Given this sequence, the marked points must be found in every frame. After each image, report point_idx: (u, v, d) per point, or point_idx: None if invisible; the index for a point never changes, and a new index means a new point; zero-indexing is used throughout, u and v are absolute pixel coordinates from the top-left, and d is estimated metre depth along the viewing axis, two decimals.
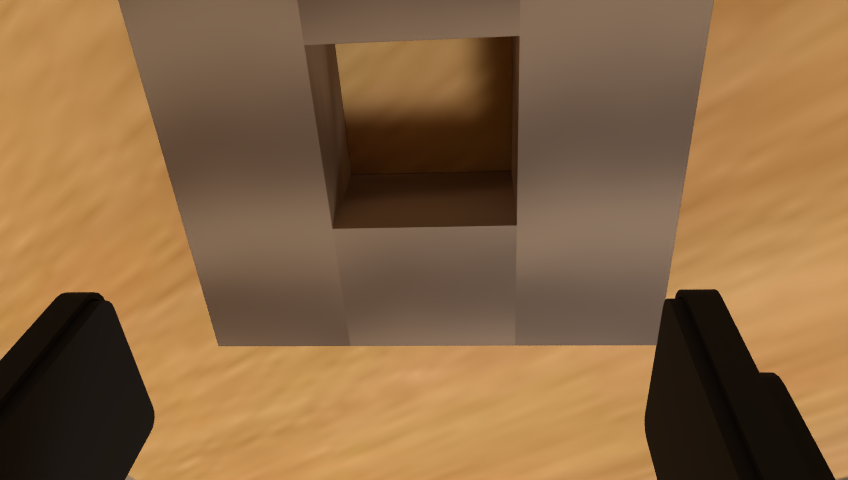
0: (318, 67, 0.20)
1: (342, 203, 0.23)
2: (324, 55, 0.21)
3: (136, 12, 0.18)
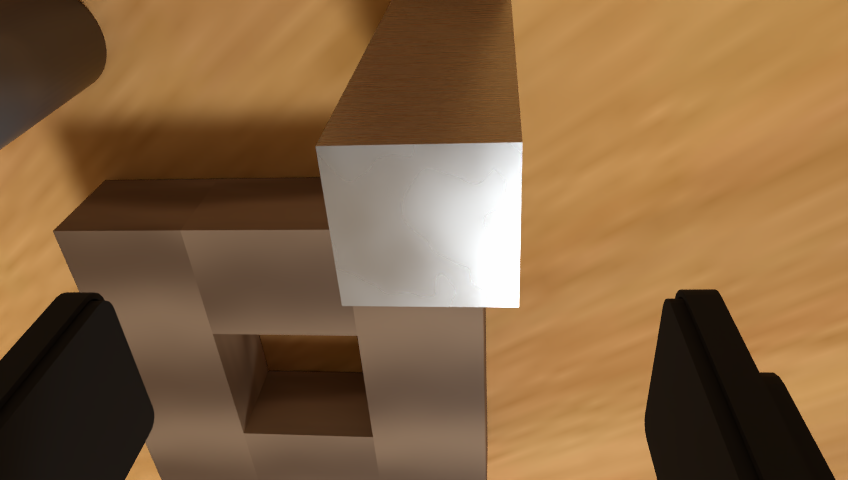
0: None
1: (255, 404, 0.32)
2: None
3: None
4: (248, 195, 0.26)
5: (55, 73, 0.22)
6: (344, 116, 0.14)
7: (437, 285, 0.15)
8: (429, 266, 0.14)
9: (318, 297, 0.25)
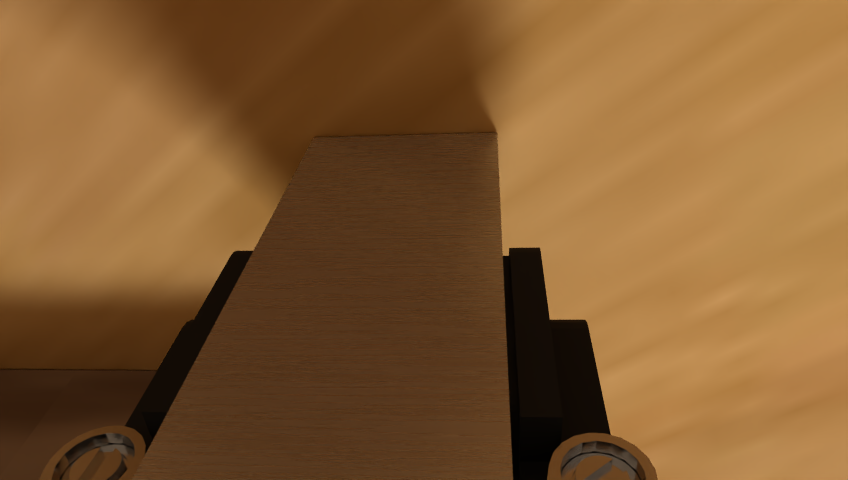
0: None
1: None
2: None
3: None
4: (112, 408, 0.18)
5: None
6: None
7: None
8: None
9: None
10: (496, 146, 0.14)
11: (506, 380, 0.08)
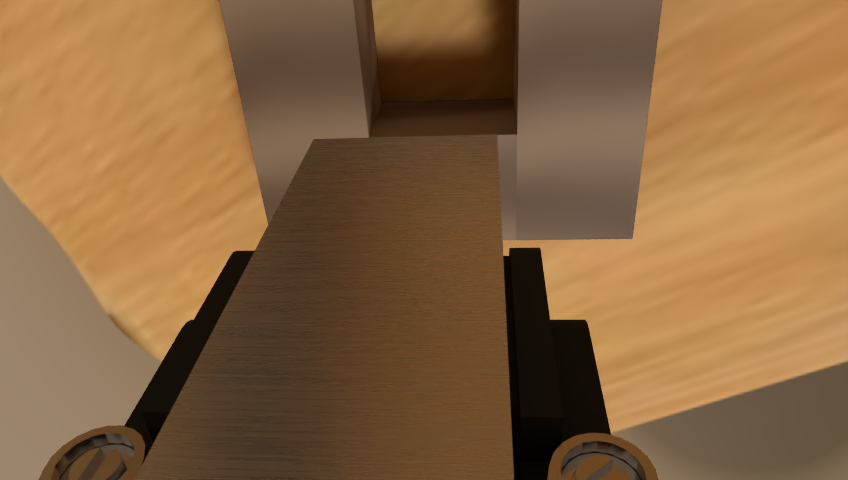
0: (360, 5, 0.25)
1: (375, 122, 0.29)
2: None
3: None
4: None
5: None
6: None
7: None
8: None
9: None
10: (497, 147, 0.14)
11: (507, 384, 0.08)
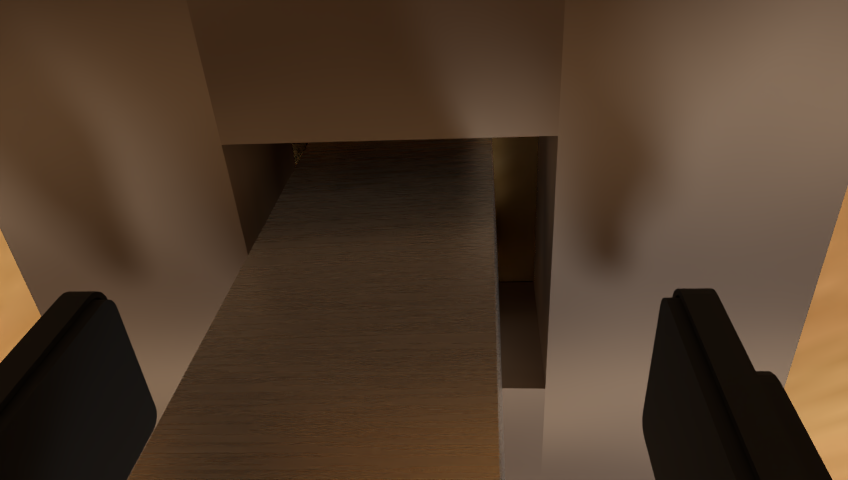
0: (253, 165, 0.14)
1: None
2: None
3: None
4: None
5: None
6: None
7: None
8: None
9: (480, 24, 0.10)
10: None
11: (493, 301, 0.09)
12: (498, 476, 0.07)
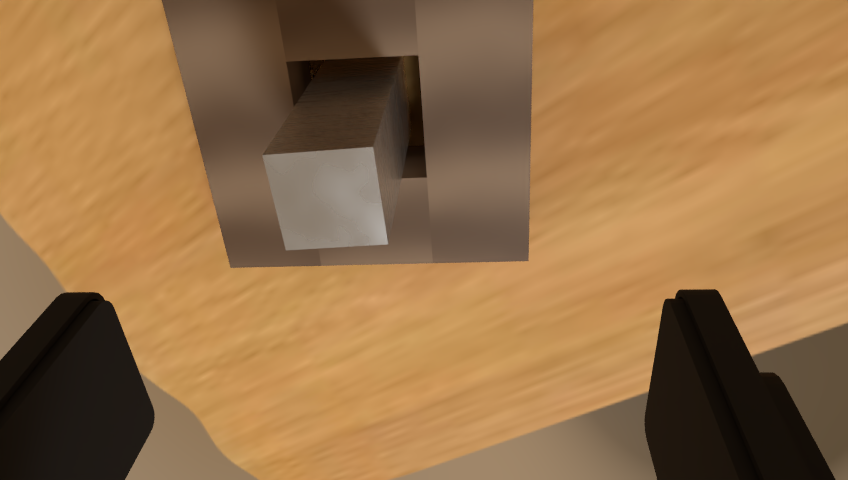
0: (296, 75, 0.31)
1: None
2: (300, 67, 0.32)
3: (182, 42, 0.30)
4: None
5: None
6: (280, 138, 0.25)
7: (339, 233, 0.25)
8: (333, 222, 0.25)
9: (385, 11, 0.28)
10: (401, 56, 0.33)
11: (386, 102, 0.27)
12: (378, 128, 0.25)
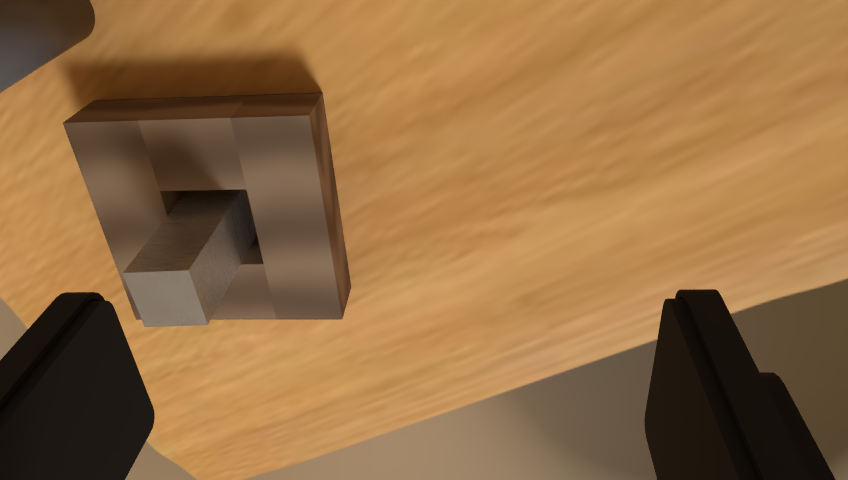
0: (171, 195, 0.46)
1: None
2: None
3: (89, 177, 0.44)
4: (180, 105, 0.44)
5: (66, 22, 0.39)
6: (138, 258, 0.39)
7: (176, 318, 0.40)
8: (171, 311, 0.39)
9: (221, 163, 0.43)
10: None
11: (215, 228, 0.41)
12: (199, 253, 0.39)
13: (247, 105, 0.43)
